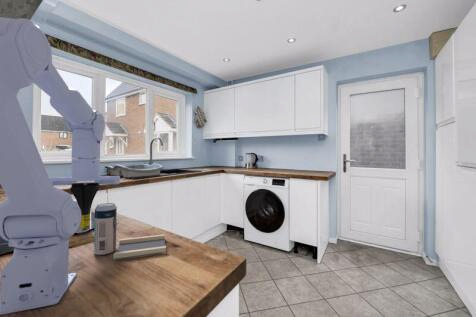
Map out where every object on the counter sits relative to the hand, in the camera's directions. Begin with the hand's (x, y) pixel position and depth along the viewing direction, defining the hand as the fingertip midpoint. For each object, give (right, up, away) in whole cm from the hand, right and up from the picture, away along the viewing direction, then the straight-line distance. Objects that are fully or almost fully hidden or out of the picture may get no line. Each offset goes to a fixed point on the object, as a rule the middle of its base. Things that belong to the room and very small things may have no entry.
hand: (85, 214), depth 53 cm
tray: (+12, -10, +4) cm, 16 cm away
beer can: (+4, -10, +2) cm, 11 cm away
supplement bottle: (-14, -10, +17) cm, 24 cm away
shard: (-9, -11, +8) cm, 16 cm away
